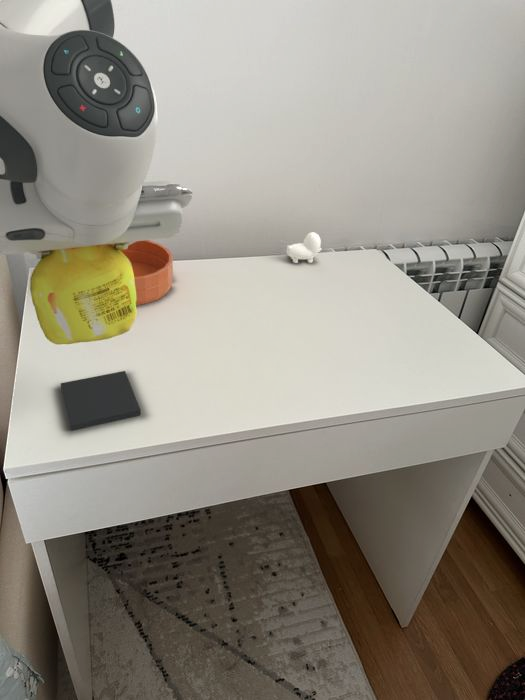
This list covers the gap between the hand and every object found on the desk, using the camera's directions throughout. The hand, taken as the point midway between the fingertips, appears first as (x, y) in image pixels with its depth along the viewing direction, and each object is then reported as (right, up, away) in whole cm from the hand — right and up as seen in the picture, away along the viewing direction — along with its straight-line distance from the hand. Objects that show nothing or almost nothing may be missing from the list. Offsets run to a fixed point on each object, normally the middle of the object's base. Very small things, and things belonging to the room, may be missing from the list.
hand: (81, 247), depth 61 cm
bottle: (-1, -10, +6) cm, 12 cm away
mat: (-2, -19, +12) cm, 23 cm away
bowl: (-5, +1, +40) cm, 40 cm away
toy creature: (+30, +8, +55) cm, 63 cm away
